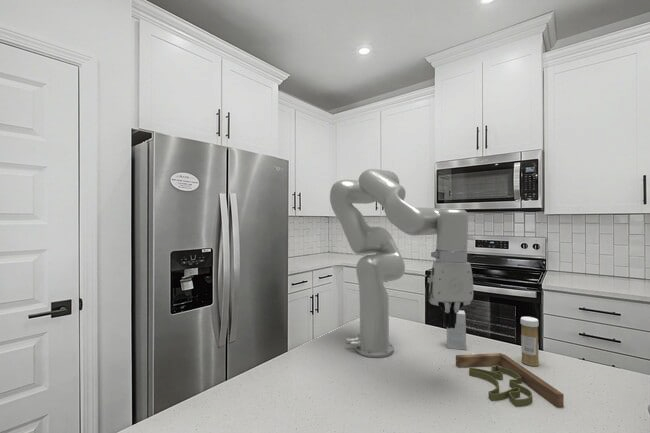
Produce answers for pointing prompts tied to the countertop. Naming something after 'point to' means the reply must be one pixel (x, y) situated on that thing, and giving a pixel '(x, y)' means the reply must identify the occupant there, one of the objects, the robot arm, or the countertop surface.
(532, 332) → the sprinkles bottle
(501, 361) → the walnut fence
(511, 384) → the cookie cutter
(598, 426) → the countertop surface
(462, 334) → the skincare box
